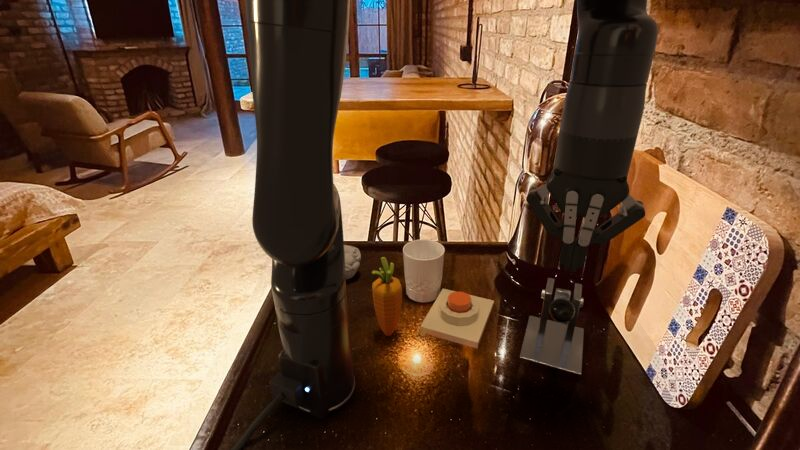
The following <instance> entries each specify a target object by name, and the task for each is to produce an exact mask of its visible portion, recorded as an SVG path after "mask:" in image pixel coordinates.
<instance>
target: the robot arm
mask: <svg viewBox="0 0 800 450" xmlns="http://www.w3.org/2000/svg"><path fill="white" fill-rule="evenodd" d="M244 2H245V18H246V19H245V20H246V23H245V24H246V36H247V45H248V57H249V71H250V82H251V93H252V100H253V101H252V102H253V110H254V118H255V129H256V162H255V177H254V178H255V179H254V196H253V205H252V214H251V215H252V217H251V222H252V223H251V225H252V231H253V234H254V237H255V239H256V242H257V243H258V245H259V247H260V248H261V250H262V251H263V252H264V253H265V255H267V256H268V258H269V259H271V274H270V275H271V276H270V287H271V293H272V299H273V304H274V309H275V314H276V319H277V321H276V322H277V326H278V331H279V336H280V342H281V348H282V350H281V351H280V352H279V354H278V355H277V356H278V363H279V368H280V371H277V372H276V373H275V375H274V376H273V377H272V378H271V379H270V380H269V381H268V383H269V384H268V385H269V389H270V394H271V398H272V400H271V402H269V404H268V405H267V406H266V407H265V408H264V409H263V410H262V411H261V412H260V413H259V414H258V416H256V418H254V420H253V421H252V423H251V424H250V425H249V427H247V428H246V431H245V432H244V433H243V435H242V436H241V437H240V438H239V439H238V440H237V442H236V443H235V444H234V445H233V446H232V448H230V450H242V448H243V447H244V446H245V445H246V444H247V443H248V442H249V440H250V439H251V438H252V436H253V435H254V434H255V432H256V431H257V430H258V429H259V427H260V426H261V425H262V424H263V422H264V421H265V420H266V419H267V418H268V417H269V416H270V415H271V413H272V412H274V410H275V409H276V408H277V407H278V406H279V405H280V404H281V403H284V404H286V405H287V406H289V407H291V408H294V409H296V410H298V411H300V412H302V413H304V414H308V415H311V416H313V417H316V418H318V419H320V420H325V419H326V418H327V416H328V415H330V414H331V413H334V412H336V411H338V410H340V409H341V408H343V407H344V406H345V405H346V404H348V403H349V402H350V400H351V399H352V398H353V396H354V394H355V391H356V376H355V373H354V372H355V371H354V361H353V350H352V348H353V347H352V337H351V327H350V326H351V325H350V315H349V313H350V312H349V303H348V301H349V300H348V290H347V279H346V273H345V251H344V245H345V242H344V241H345V240H344V227H343V215H342V214H343V213H342V204H341V198H340V194H339V191H338V188H337V187H336V185H335V183H334V167H333V162H334V161H333V160H334V159H333V158H334V157H333V156H334V155H333V154H334V153H333V152H334V151H333V150H334V136H335V130H336V125H337V119H338V114H339V110H340V109H339V108H340V102H341V98H342V92H343V85H344V78H345V71H346V65H347V56H348V46H349V35H350V34H349V32H350V19H351V17H350V16H351V0H245V1H244ZM647 6H648V0H576V15H577V16H576V17H577V37H576V42H575V46H574V51H573V52H574V53H573V59H572V65H571V72H570V77H569V78H570V79H569V82H568V87H567V91H566V94H565V97H564V101H563V104H562V109H561V116H560V124H559V129H558V136H557V143H556V148H555V149H556V150H555V155H554V161H553V168H552V171H551V172H550V174H549V175H548V177H547V178H546V182H545V183H544V184H542V185H540V186H538V187H534V186H533V187H530V188H529V190H528V193H527V195H526V197H525V201H526V202H527V204H528V205H529V208H531V210H532V211H533V213H534V214H535V216H536V218H537V219H538V221H539V222H540V224H541V225H542V227H543V228H544V230H545V231H546V233H547V234H548V235H549V236H551V237H556V238H558V239H559V240H560V241H561V245H560V252H559V257H558V263H559V265H562V266H563V270H565V271H571V272H575V273H576V272H577V269H582V268H583V267H584V265H585V261H586V256H587V253H588V247H589V246H590V245H592V244H598V245H601V246H603V245H606V244H607V243H609V242H610V241H612V240H613V239H614V238H616V237H617V236H619V235H620V234H622V233H623V232H625V231H626V230H628V229H629V228H631V227H632V226H633V225H634V224H636V223H638V222H639V221H641V220H642V219H643V218H645V216H646V208H645V205H644V203H643V202H642V201H641V200H637V199H635V198H634V197H633V196H632V195H631V194H630V185H629V183H628V177H629V172H630V167H631V164H632V160H633V155H634V152H635V147H636V143H637V139H638V135H639V132H640V131H639V130H640V127H641V123H642V119H643V115H644V109H645V103H646V94H647V93H646V92H647V87H648V81H649V79H650V74H651V70H652V65H653V60H654V57H655V53H656V49H657V42H658V35H659V24H658V23H657V21H656V20H655V19H654V18H653V17H652V16H651V15H649V14H648V11H647ZM549 194H550V195H549ZM550 196H551V198H552V200H553V201H554V203H555V204H556V207H557V208H558V210H559V211H560V212H562V213H563V214H564V220H563V223H561V221H560V220H559V219H558V217H557V215H556V214H555V212H554V210H553V209H552V207H551V206H550V204H549V200H550ZM616 207H618V212H617V213H616V214H615V215H613V216H612V217H610V218H609V219H607V220H606V221H605V222H604V223H602V224H600V225H599V226H598V227H596V225H597V222H598V219H601V218H602V217H604V216H606V215H607V214H608V213H610V212H611V211H612V210H614V209H615V208H616ZM578 217H582V221H581V225H580V228H579V231H578V235H577V236H575V234H576V224H577V218H578Z"/></svg>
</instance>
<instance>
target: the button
mask: <svg viewBox="0 0 800 450" xmlns="http://www.w3.org/2000/svg"><path fill="white" fill-rule="evenodd" d="M468 294H469V293H467V292H464V291H456V292H453V293H451V294H450V295H449V296H448V308H449V309H450V310H451V311H453V312H456V313H466V312H468V311H469V310H470V308H471V297H470V296H469V295H470V294H469V295H468Z"/></svg>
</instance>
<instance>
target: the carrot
mask: <svg viewBox="0 0 800 450" xmlns="http://www.w3.org/2000/svg"><path fill="white" fill-rule="evenodd" d="M380 261H381V265H382V267H379V271H378V270H372V271H371V274H372V275H374V276H377V277H378V278H377V279H375V280H374V281H373V282H372V284H371V290H372V300H373V307H374V313H375V316H376V319H377V322H378V323H377V324H378V326H379V328H380V330H381V331H382V332H383V334H384V335H385V336H386V337H391V336H392V335H393V334H394V332H395V331H396V329H397V327H398V325H399V322H400V318H401V313H402V305H403V304H402V303H403V287H402V285H401V281H400V279H398V278H397V277H394V276H393V275H394V270H395V263H393V262H390V264H389V262H388V260H387V257H385V256H382V257H380Z"/></svg>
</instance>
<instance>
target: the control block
mask: <svg viewBox="0 0 800 450" xmlns="http://www.w3.org/2000/svg"><path fill="white" fill-rule="evenodd" d="M453 292H457V291H456V290H451V289H448V288H442V289H441V290H440V294H439V296H438V297H437V299H436V300H434V301H433V302H434V303H433V304H432V306H431V307H430V309H429V311H428V312H427V314H426V316H425V317H424V319H423V321H422V322H421V325H420V326H419V337H421V338H424V337H425V335H428V336H432V337H435V338H438V339H442V340H445V341H449V342H453V343H456V344H459V345H463V346H466V347H467V346H468V347H470V348H473V349H479V346H480V343H481V341H482V338H483V336H484V333H485V330H486V328H487V326H488V323H489V320H490V318H491V315H492V312H493V310H494V306H495V300H492V299H489V298H485V297H480V296H477V295H473V294H469V293H467V294H468V295H469V296H470V297H471V308H470V310H469V311H468V312H466V313H456V312H453V311H451V310H450V309H449V308H448V296H449V295H450V294H451V293H453Z"/></svg>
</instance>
